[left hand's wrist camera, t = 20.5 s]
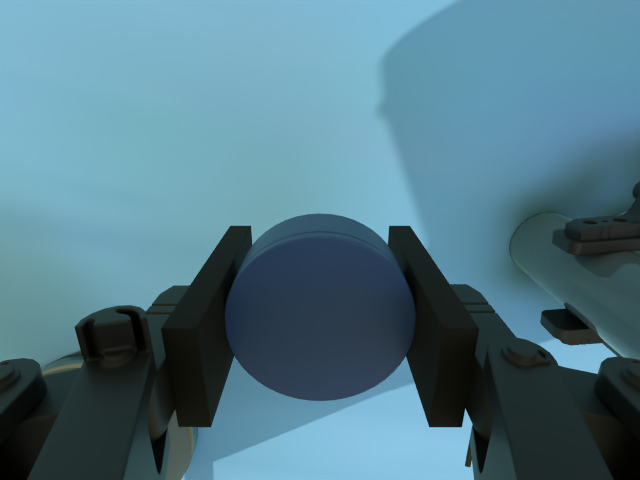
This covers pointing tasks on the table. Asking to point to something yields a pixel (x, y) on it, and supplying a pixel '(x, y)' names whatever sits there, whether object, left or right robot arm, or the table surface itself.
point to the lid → (320, 309)
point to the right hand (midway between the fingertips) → (555, 285)
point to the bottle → (584, 281)
